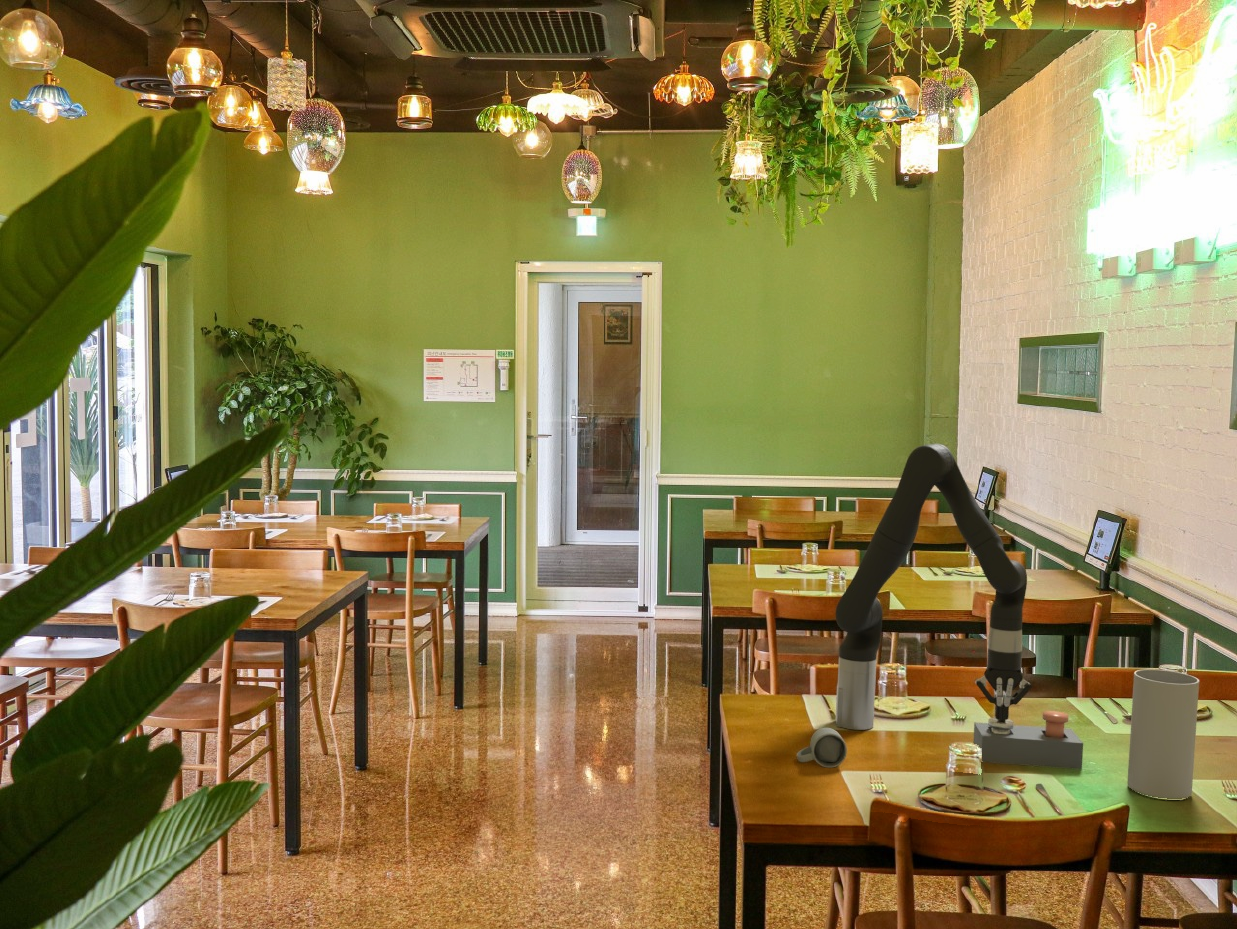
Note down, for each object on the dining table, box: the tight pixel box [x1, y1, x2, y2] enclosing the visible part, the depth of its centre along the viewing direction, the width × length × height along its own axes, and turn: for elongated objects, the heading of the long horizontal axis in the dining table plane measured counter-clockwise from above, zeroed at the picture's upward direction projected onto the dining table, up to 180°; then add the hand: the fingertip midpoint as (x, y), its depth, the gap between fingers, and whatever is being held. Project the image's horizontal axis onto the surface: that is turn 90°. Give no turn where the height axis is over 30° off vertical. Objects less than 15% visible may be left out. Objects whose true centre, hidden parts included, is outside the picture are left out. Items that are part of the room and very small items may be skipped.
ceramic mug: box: [796, 727, 848, 769], centre depth 258 cm, size 11×8×8 cm
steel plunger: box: [987, 717, 1015, 734], centre depth 266 cm, size 6×6×6 cm
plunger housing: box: [973, 721, 1084, 770], centre depth 265 cm, size 22×11×6 cm, turn 82°
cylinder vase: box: [1127, 668, 1200, 799], centre depth 244 cm, size 12×12×25 cm
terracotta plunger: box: [1041, 710, 1070, 738], centre depth 264 cm, size 6×6×6 cm
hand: (1001, 721), depth 266 cm, fingers closed
